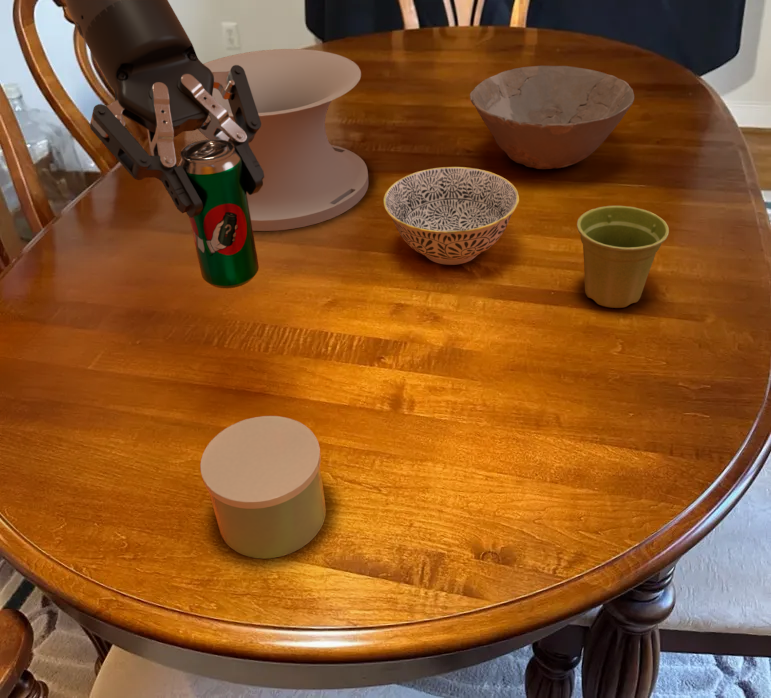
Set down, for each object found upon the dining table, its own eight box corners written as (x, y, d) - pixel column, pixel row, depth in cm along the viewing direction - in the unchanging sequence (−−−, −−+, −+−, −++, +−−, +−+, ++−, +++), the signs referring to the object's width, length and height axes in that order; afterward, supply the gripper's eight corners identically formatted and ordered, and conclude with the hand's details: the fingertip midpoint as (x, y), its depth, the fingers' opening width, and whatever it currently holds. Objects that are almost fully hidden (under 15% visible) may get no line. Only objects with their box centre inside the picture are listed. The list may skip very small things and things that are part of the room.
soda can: (271, 269, 72) (251, 143, 65) (235, 297, 69) (211, 167, 61) (227, 256, 74) (203, 132, 67) (190, 282, 71) (162, 156, 64)
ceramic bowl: (647, 143, 121) (657, 77, 115) (588, 207, 106) (596, 136, 100) (514, 117, 131) (517, 56, 125) (443, 173, 116) (442, 106, 110)
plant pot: (571, 268, 95) (578, 202, 89) (654, 274, 93) (666, 207, 87) (567, 313, 88) (575, 245, 82) (657, 321, 86) (671, 251, 80)
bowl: (488, 298, 91) (489, 240, 86) (364, 270, 97) (359, 214, 92) (533, 232, 102) (537, 178, 97) (419, 210, 108) (418, 158, 103)
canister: (222, 573, 63) (206, 514, 58) (210, 487, 70) (195, 430, 66) (339, 544, 64) (331, 484, 60) (316, 463, 72) (307, 405, 67)
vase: (165, 224, 108) (137, 112, 99) (232, 147, 127) (214, 47, 118) (342, 237, 103) (331, 120, 94) (385, 154, 122) (380, 50, 113)
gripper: (44, 11, 59) (157, 212, 59) (213, -27, 66) (314, 153, 66) (38, 67, 65) (140, 249, 65) (192, 28, 72) (285, 191, 72)
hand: (227, 200), depth 65 cm, fingers closed on soda can, 5 cm apart
